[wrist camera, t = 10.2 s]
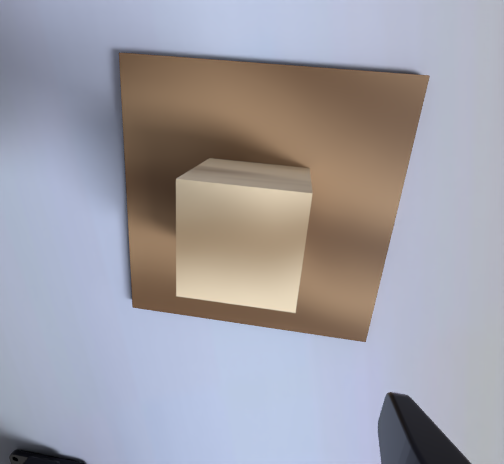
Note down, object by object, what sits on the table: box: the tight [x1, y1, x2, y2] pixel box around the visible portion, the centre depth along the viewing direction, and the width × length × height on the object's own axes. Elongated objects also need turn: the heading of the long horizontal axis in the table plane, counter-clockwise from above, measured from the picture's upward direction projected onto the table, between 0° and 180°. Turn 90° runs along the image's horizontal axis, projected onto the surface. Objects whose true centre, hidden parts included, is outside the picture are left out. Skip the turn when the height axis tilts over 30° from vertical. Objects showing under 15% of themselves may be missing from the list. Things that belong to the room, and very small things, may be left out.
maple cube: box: [176, 158, 313, 313], centre depth 16 cm, size 5×5×5 cm
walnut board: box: [119, 53, 430, 342], centre depth 18 cm, size 14×14×1 cm
